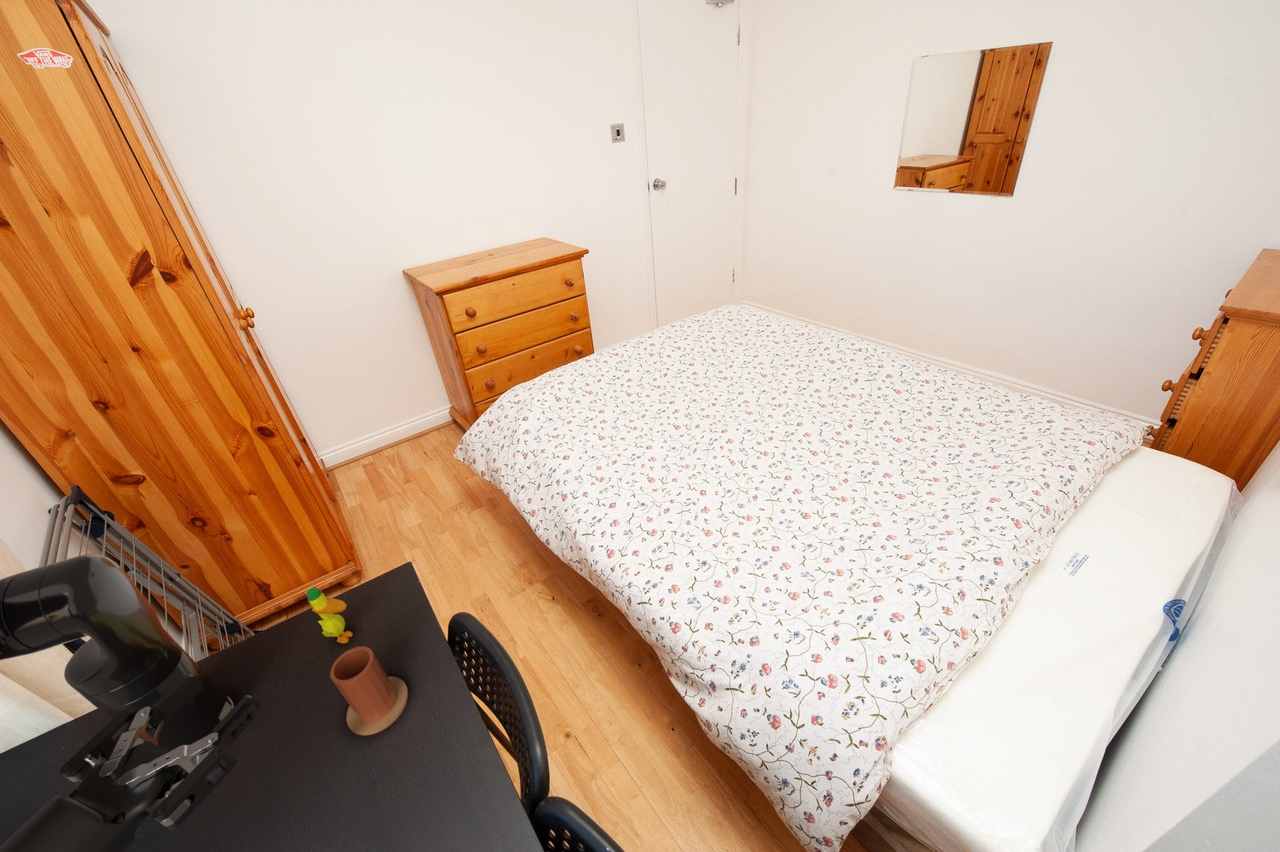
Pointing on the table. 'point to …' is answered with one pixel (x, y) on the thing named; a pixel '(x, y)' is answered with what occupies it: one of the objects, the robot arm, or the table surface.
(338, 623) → the toy figure
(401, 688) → the trivet
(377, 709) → the pot
